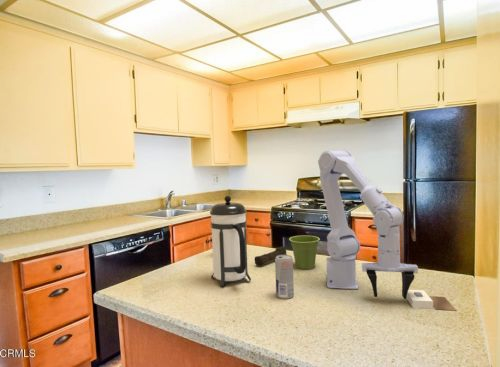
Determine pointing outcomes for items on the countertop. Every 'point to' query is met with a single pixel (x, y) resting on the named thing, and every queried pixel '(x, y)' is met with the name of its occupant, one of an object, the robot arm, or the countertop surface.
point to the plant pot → (304, 250)
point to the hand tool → (269, 256)
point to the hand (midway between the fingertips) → (389, 296)
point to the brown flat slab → (441, 303)
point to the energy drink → (284, 276)
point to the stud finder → (419, 299)
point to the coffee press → (229, 242)
